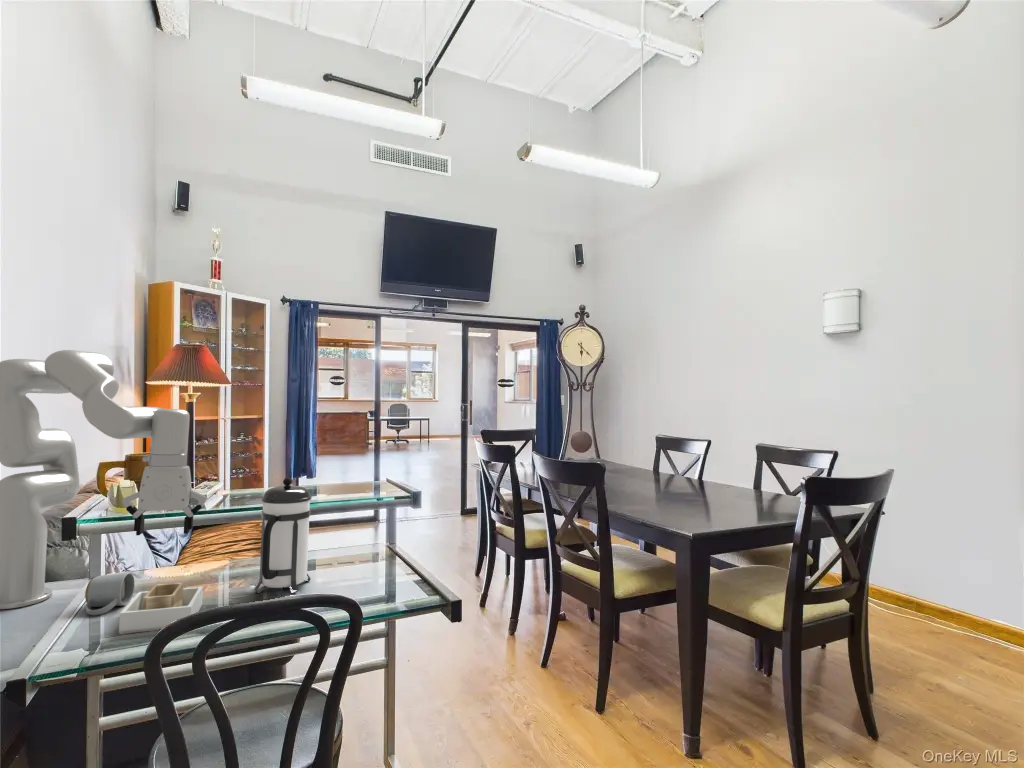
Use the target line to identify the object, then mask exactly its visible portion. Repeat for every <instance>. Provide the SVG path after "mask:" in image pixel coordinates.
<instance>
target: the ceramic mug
mask: <svg viewBox="0 0 1024 768" xmlns="http://www.w3.org/2000/svg"><path fill="white" fill-rule="evenodd" d="M134 591H135V577H134V574H133V573H131V572H127V571H126V572H121V573H119V572H118V573H114V574H113V573H112V574H103V575H101V574H100V575H98V576H94V577H93V578H92V579H91V580H89V581H88V583H87V586H86V588H85V593H84V596H85V597H84V598H85V602H86V603H85V607H84V608H85V611H86V614H88V615H90V616H101V615H103V614H106V613H108V612H109V611H111V610H112V609H113V608H114V607H123V606H125V607H126V606H127V605H128V604H129V603H130V601H131V600H132V599H133V595H134V593H135V592H134ZM91 607H92V608H93V607H95V608H98V609H90V608H91ZM101 607H102V608H101Z"/></svg>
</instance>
